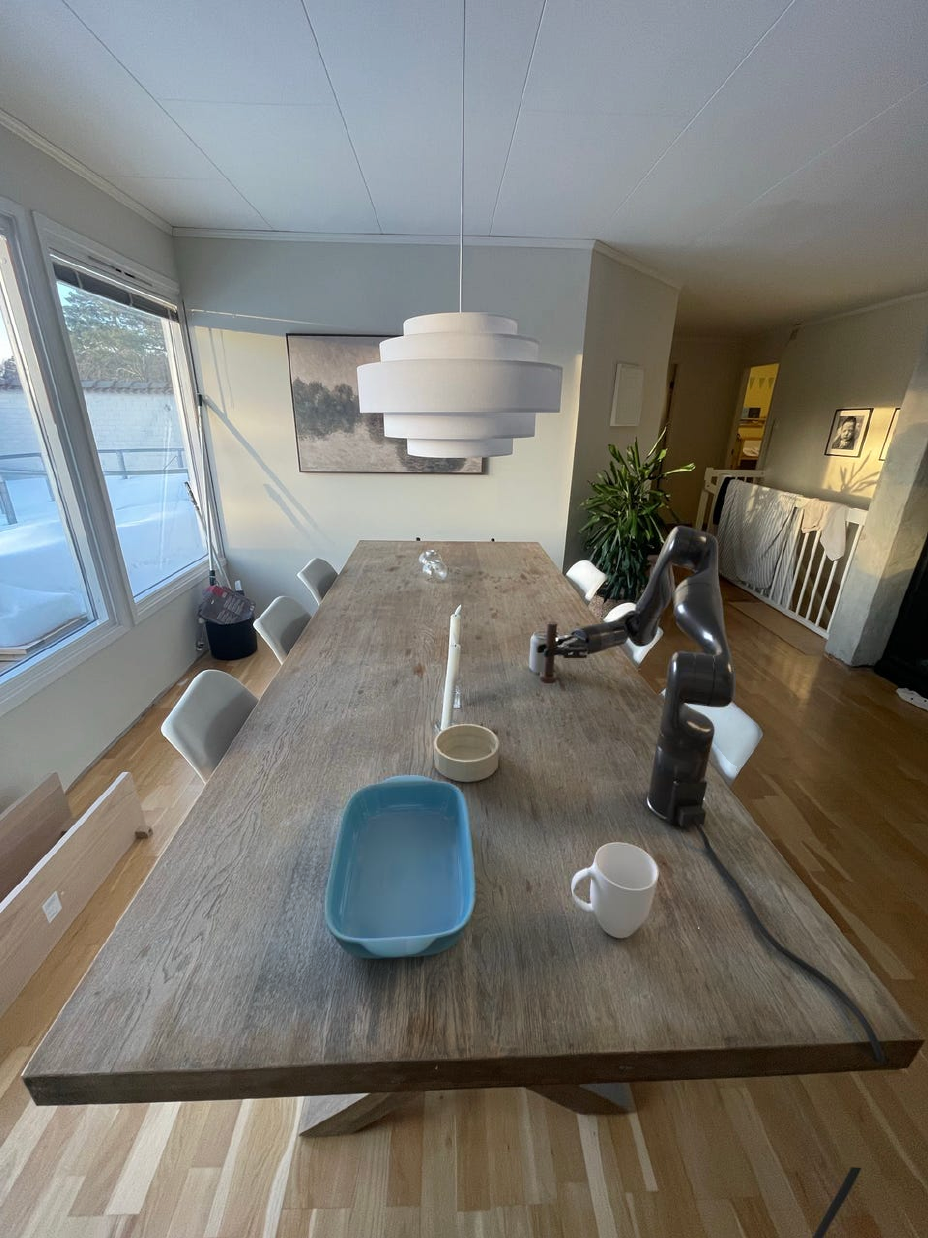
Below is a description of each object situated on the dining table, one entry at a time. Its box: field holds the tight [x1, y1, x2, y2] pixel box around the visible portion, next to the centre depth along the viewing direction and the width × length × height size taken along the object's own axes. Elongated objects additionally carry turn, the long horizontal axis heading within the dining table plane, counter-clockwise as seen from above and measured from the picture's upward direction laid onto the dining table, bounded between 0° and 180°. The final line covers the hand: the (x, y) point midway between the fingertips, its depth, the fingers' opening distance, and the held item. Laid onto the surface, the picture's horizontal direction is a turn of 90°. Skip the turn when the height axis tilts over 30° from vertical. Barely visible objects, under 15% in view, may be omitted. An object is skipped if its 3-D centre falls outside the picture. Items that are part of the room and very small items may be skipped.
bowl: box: [433, 723, 500, 783], centre depth 114 cm, size 14×14×6 cm
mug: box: [570, 841, 660, 939], centre depth 76 cm, size 12×9×12 cm
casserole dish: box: [323, 774, 476, 959], centre depth 84 cm, size 37×22×7 cm, turn 4°
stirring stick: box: [539, 620, 558, 684], centre depth 132 cm, size 4×4×16 cm
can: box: [528, 630, 556, 675], centre depth 155 cm, size 8×8×12 cm
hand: (541, 651), depth 130 cm, fingers closed on stirring stick, 2 cm apart
